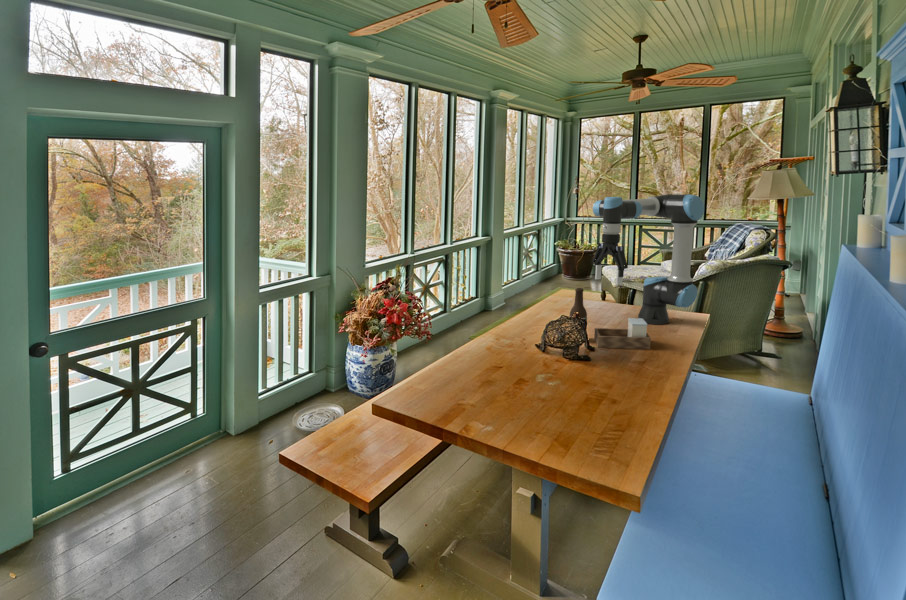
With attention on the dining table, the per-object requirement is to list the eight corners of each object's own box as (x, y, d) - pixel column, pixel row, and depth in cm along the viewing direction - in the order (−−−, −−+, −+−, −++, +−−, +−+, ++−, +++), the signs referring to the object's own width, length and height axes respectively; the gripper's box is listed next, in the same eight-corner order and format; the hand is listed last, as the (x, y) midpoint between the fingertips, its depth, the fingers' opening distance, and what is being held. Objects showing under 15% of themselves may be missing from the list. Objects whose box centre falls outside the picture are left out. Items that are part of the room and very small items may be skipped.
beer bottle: (576, 343, 247) (578, 290, 241) (565, 338, 253) (567, 287, 248) (589, 340, 250) (592, 289, 245) (578, 336, 257) (580, 286, 252)
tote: (643, 340, 250) (644, 329, 249) (649, 349, 237) (650, 338, 236) (594, 338, 253) (594, 328, 252) (597, 347, 240) (598, 336, 239)
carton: (641, 338, 249) (642, 318, 246) (646, 345, 238) (647, 324, 236) (626, 338, 249) (628, 318, 247) (630, 345, 239) (632, 324, 237)
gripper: (585, 231, 245) (583, 277, 250) (624, 236, 223) (621, 287, 228) (598, 230, 248) (596, 276, 253) (638, 235, 226) (635, 285, 231)
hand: (608, 281), depth 240 cm, fingers open, 13 cm apart
